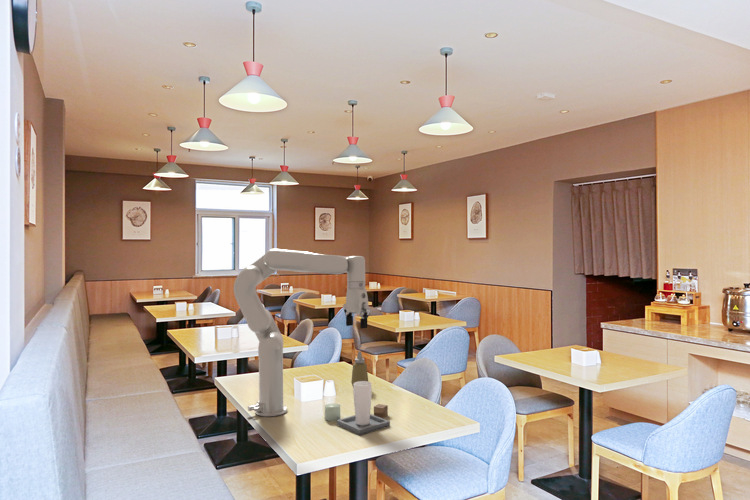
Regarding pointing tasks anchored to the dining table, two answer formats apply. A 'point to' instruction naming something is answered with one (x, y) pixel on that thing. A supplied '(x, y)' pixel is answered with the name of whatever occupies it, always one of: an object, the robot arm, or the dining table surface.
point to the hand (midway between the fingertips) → (356, 326)
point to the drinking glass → (362, 402)
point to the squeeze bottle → (359, 370)
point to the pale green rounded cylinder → (332, 412)
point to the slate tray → (374, 425)
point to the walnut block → (381, 410)
